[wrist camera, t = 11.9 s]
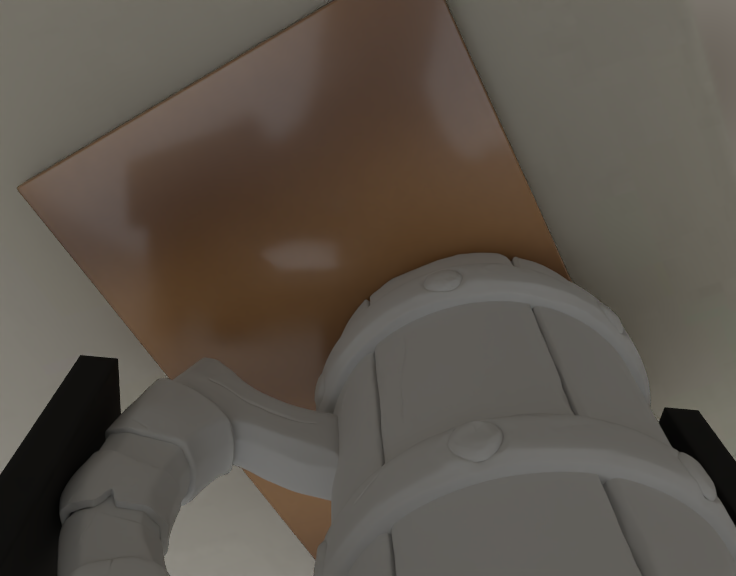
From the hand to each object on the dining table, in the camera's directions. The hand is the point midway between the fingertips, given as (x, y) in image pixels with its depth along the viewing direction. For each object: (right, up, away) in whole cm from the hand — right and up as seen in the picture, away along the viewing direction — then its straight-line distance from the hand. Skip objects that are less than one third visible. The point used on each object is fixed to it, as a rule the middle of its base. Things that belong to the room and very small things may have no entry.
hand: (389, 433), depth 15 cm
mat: (0, +1, +3) cm, 3 cm away
